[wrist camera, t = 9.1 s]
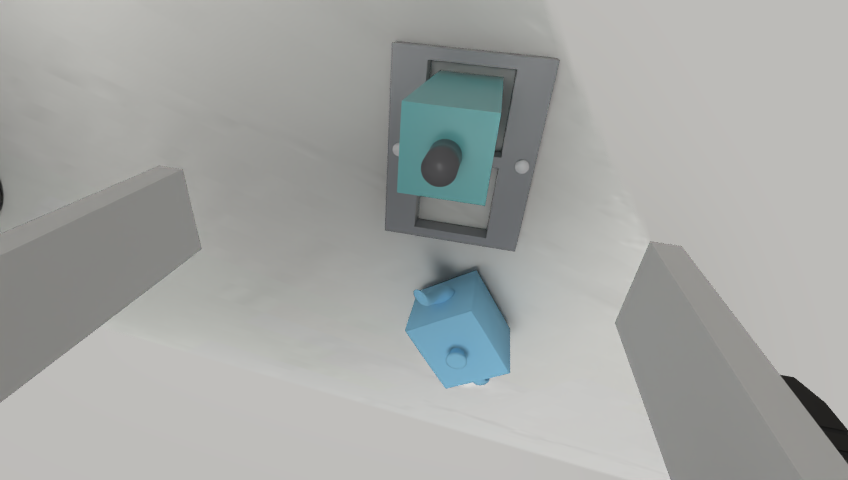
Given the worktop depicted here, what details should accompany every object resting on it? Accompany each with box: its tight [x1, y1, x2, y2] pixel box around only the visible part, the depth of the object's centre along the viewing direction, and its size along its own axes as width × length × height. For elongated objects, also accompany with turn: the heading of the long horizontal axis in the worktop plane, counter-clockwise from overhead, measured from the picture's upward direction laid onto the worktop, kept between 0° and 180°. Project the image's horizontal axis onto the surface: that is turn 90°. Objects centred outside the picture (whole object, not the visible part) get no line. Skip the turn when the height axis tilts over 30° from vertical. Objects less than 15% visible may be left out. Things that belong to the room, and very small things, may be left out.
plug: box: [397, 70, 504, 206], centre depth 23 cm, size 4×4×14 cm
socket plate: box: [385, 41, 560, 251], centre depth 30 cm, size 11×14×2 cm
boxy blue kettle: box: [405, 270, 510, 389], centre depth 34 cm, size 12×6×8 cm, turn 30°
